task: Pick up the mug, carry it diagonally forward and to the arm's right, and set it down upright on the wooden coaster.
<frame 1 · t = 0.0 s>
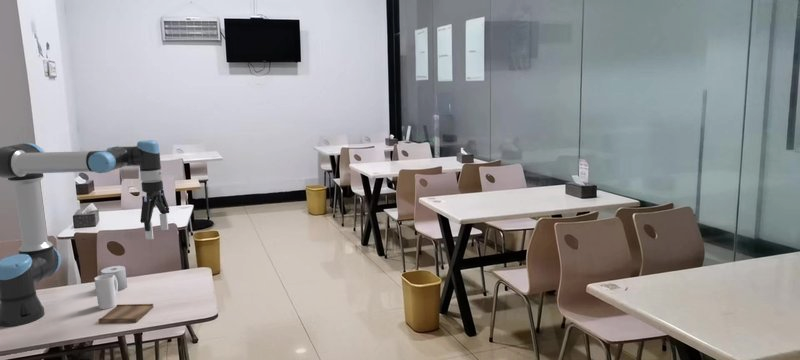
hand: (157, 234, 228), 28 cm above the table, fingers open, 13 cm apart
mug: (110, 305, 232), on the table
wooden coaster: (127, 315, 220), on the table
toilet tissue: (116, 287, 251), on the table
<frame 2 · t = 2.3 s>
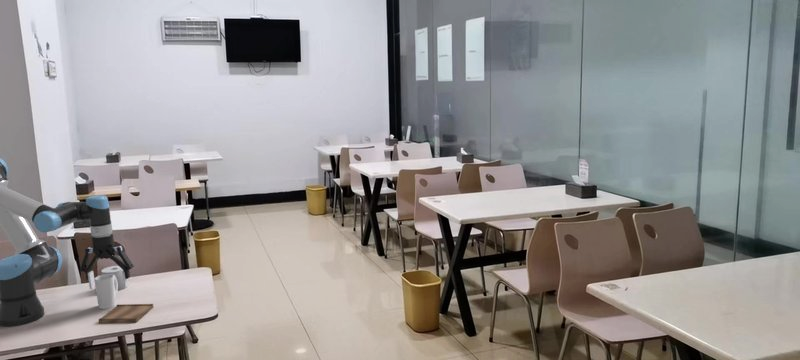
hand: (109, 287, 230), 7 cm above the table, fingers open, 13 cm apart
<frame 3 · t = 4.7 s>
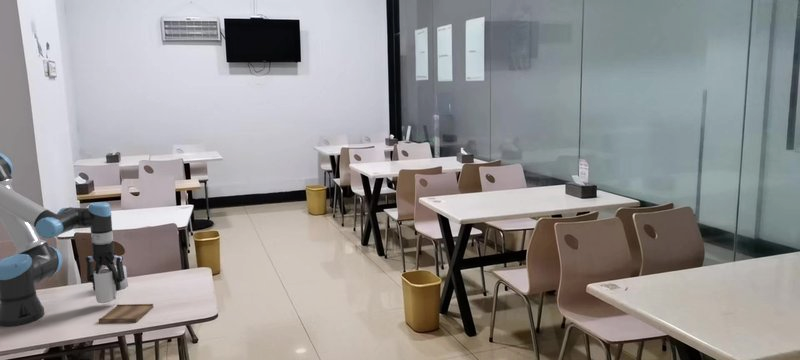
hand: (107, 297, 231), 3 cm above the table, fingers closed on mug, 6 cm apart
mug: (108, 299, 231), point 2 cm above the table, touching gripper
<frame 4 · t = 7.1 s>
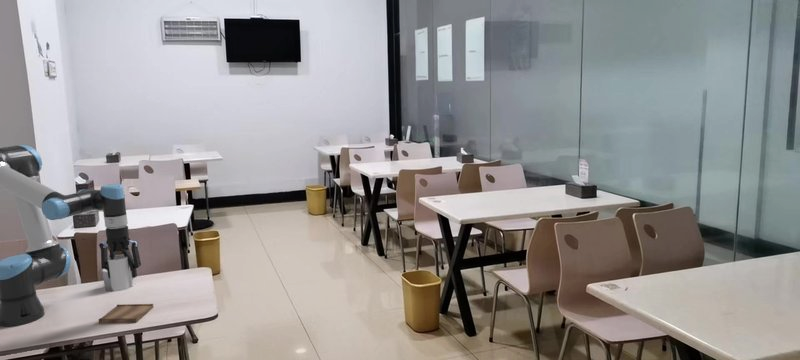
hand: (123, 285, 218), 12 cm above the table, fingers closed on mug, 6 cm apart
mug: (124, 287, 219), point 11 cm above the table, touching gripper
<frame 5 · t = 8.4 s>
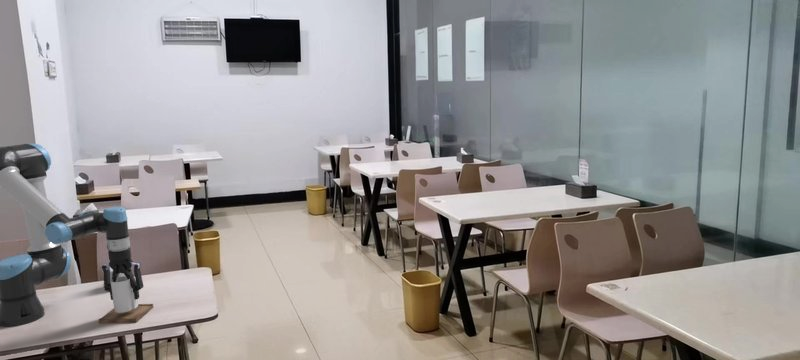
hand: (126, 307, 220), 3 cm above the table, fingers closed on mug, 6 cm apart
mug: (127, 308, 220), point 3 cm above the table, touching gripper
when the fingers open (2 cm above the table, at t = 9.4 s): mug stays where it is, resting on wooden coaster.
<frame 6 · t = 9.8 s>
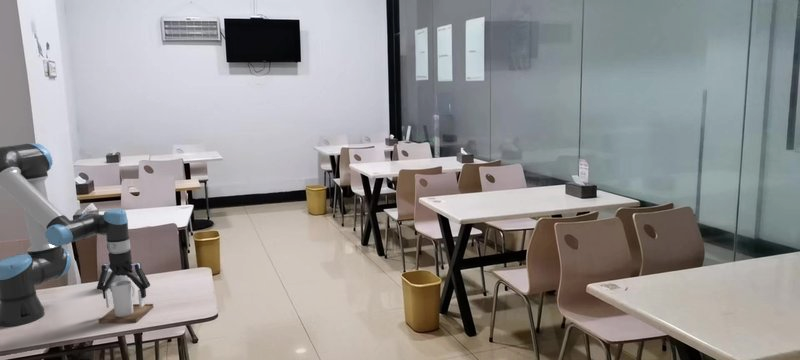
hand: (126, 306, 220), 4 cm above the table, fingers open, 12 cm apart
mug: (127, 312, 220), point 1 cm above the table, touching wooden coaster
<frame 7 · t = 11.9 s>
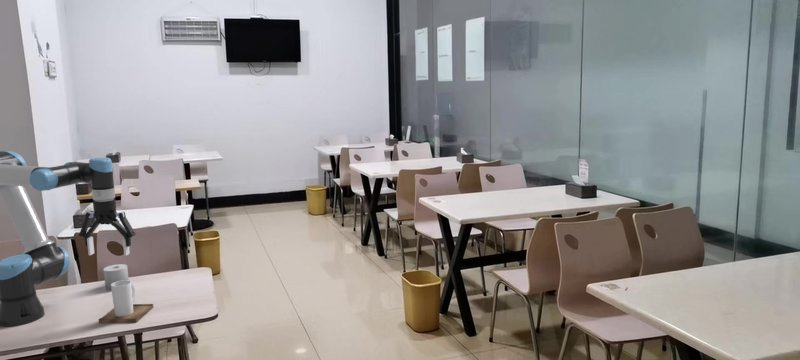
hand: (109, 254, 220), 23 cm above the table, fingers open, 13 cm apart
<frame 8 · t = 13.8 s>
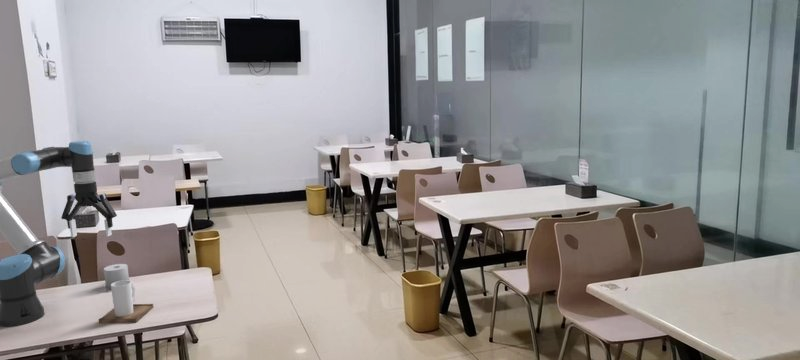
hand: (91, 236, 225), 29 cm above the table, fingers open, 13 cm apart
at the end: mug inside the target area on the wooden coaster (0.3 cm from its centre), point 1.0 cm above the wooden coaster's base; mug tilted 0°; mug touching wooden coaster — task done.
